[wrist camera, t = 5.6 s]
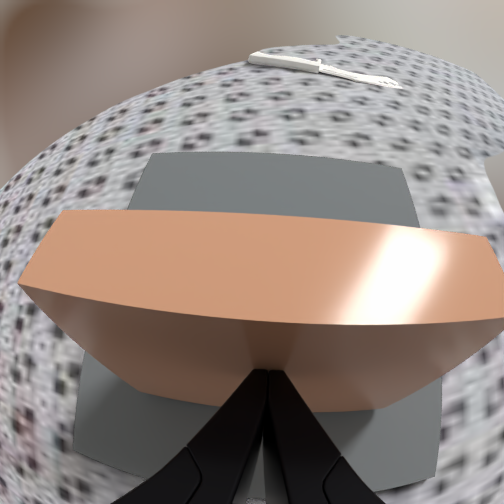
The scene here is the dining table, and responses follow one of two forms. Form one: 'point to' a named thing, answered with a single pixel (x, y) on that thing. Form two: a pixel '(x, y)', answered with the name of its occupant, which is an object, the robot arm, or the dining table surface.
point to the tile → (267, 301)
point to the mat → (197, 415)
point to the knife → (317, 68)
